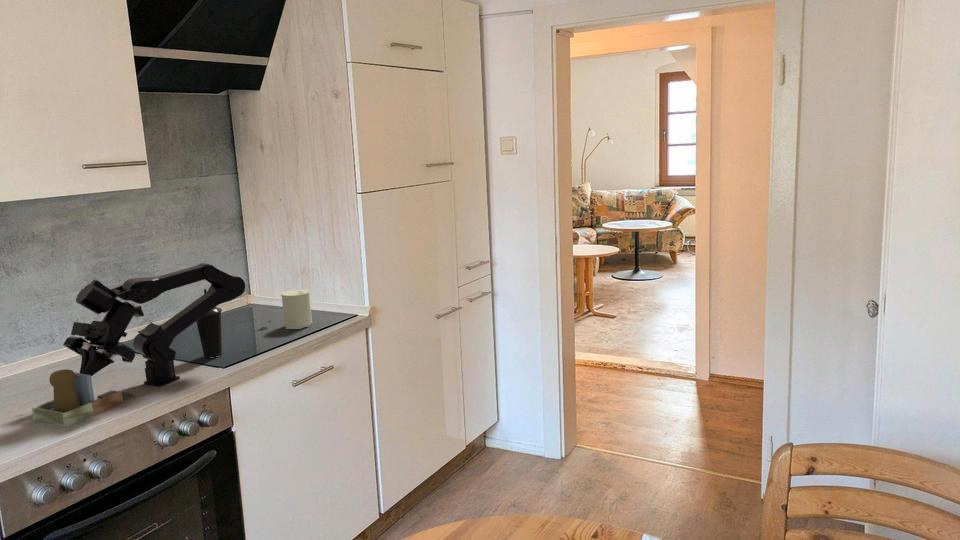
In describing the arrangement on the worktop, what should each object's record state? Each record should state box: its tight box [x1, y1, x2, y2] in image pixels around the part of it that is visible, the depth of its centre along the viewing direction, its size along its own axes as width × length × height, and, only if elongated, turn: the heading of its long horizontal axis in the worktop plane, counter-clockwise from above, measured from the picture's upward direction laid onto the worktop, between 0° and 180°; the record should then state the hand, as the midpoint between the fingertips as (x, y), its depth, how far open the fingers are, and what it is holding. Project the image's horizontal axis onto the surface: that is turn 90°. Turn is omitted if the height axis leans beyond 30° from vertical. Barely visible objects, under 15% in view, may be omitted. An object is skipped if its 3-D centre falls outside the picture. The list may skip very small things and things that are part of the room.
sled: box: [50, 372, 96, 411], centre depth 163 cm, size 7×8×9 cm
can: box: [280, 288, 313, 327], centre depth 232 cm, size 9×9×12 cm
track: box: [31, 390, 124, 427], centre depth 165 cm, size 15×11×3 cm
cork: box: [49, 368, 81, 413], centre depth 162 cm, size 6×6×11 cm
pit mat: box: [97, 390, 135, 401], centre depth 175 cm, size 4×8×1 cm, turn 66°
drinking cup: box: [195, 288, 223, 359], centre depth 202 cm, size 8×8×20 cm
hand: (80, 381), depth 166 cm, fingers closed
